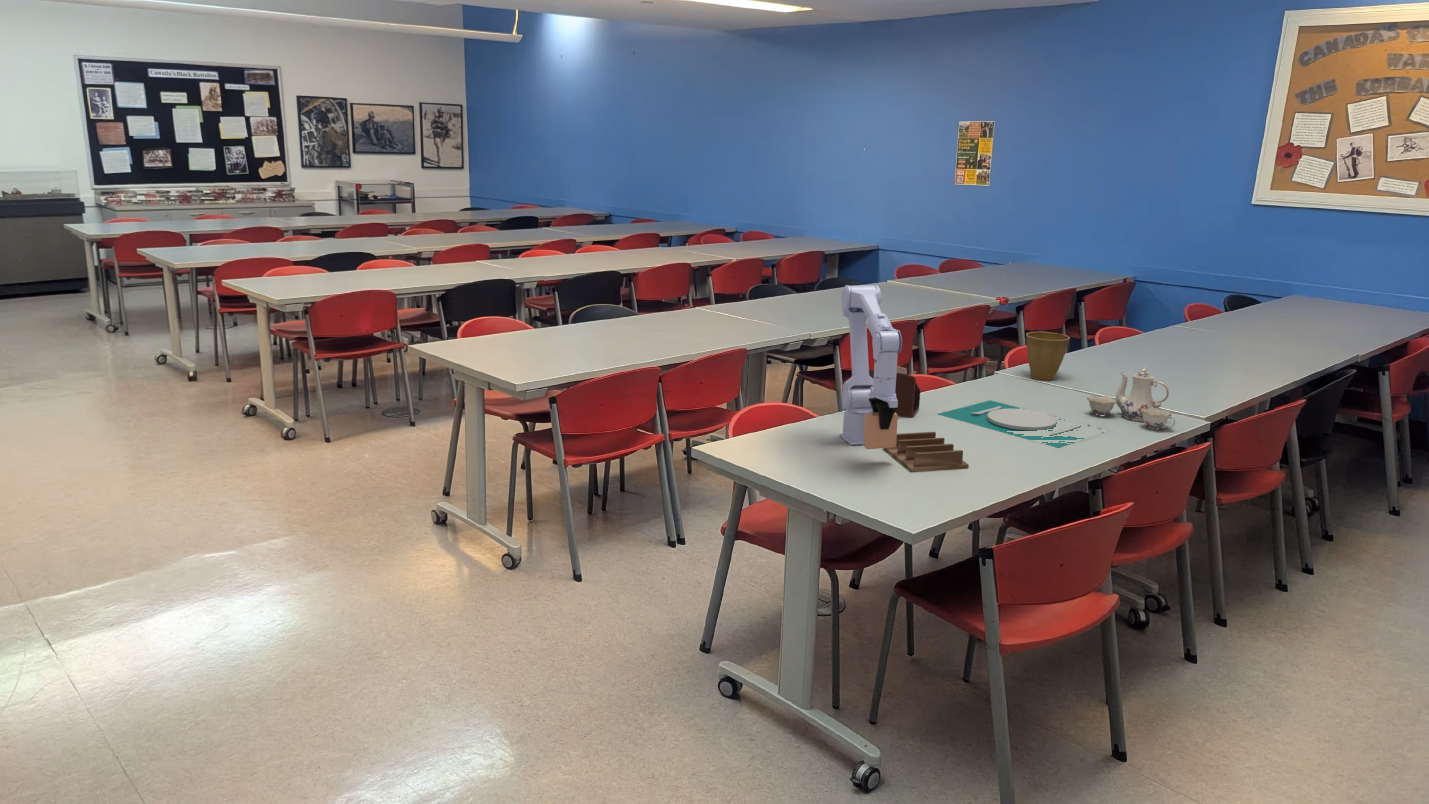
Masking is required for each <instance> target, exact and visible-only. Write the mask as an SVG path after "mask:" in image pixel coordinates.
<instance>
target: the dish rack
mask: <svg viewBox="0 0 1429 804" xmlns="http://www.w3.org/2000/svg"><path fill="white" fill-rule="evenodd" d="M936 435H937V432H936V431H922V432H920V431H919V432H905V433H902V432H901V433H897V441H896V447H893V448H882V449H883V450H884V451H885V452H886V453H887V454H889V455H890V456H891V457H892V458H894V459H895V460H896V461H897V462H898V463H899V464H900V465H902V466H903V467H904V468H905V469H906V470H908V471H909V472H911V473H914V472H917V473H918V472H929V471H931V472H933V471H944V470H960V469H961V470H962V469H969V468H970V467H969V466H970V465H969V464H968V463H967V462H966V461H964V460H963V459H964V458H963V456H964V455H963V454H964V450H962V449H958V450H954V445H955V444H953V443H945V441H946V440H945V438H944V437H936Z"/></svg>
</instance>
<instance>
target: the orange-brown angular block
mask: <svg viewBox="0 0 1429 804" xmlns="http://www.w3.org/2000/svg"><path fill="white" fill-rule="evenodd" d="M898 417H899V416H898V414H896V413H894V415H893V417H892V420H891V423H890V427H889V429H884V430H881V429H880V424H879V413H878V412H876V413H864V441H863V444H862V445H863V446H862V447H864V449H866V450H876V449H877V450H878V449H879V450H881V449H883V448H893V447H896V441H897V434H898V433H897V432H898Z"/></svg>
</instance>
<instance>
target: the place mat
mask: <svg viewBox="0 0 1429 804" xmlns="http://www.w3.org/2000/svg"><path fill="white" fill-rule="evenodd" d="M1020 408H1021V407H1018V406H1014V405H1010V404H1006V403H1002V402H999V401H994V400H987V401H983V402H979V403H975V404H970V405H967V406H962V407H959V408H955V409H951V410H947V411H943V412H939V413H937V415H939V416H943V417H946V418H950V419H953V420H958V421H960V422H964V423H967V424H970V425H974V426H977V427H982V428H985V429H989V430H993V431H996V432H999V433H1003V434H1007V435H1009V436H1013V435H1014V436H1015V437H1018V438H1020V439H1021V438H1022V439H1024V440H1028V441H1031V440H1077V439H1084V438H1076V437H1071V436H1068V437H1063V436H1054V437H1043V436H1022V435H1024V434H1014V433H1013V432H1007V431H1037V430H1047V429H1053V428H1054V427H1056V424H1057V420H1056V419H1055V417H1056V416H1055V417H1053V416H1054V415H1050V414H1048V413H1045V412H1042V411H1037V410H1031V409H1027V410H1025V409H1026V408H1023V409H1020ZM1059 420H1061V419H1059ZM1064 421H1065V420H1064ZM1080 427H1081V425H1075V426H1071V427H1068V428H1064V429H1060V430H1058V431H1055V432H1053V433H1051V434H1049V436H1053V435H1057V434H1061V433H1064V432H1068V431H1073V430H1074V429H1077V428H1080ZM1048 431H1053V430H1048ZM1077 431H1078V430H1077ZM1041 437H1043V438H1041ZM1084 440H1085V439H1084ZM1060 442H1065V441H1059V443H1052V442H1051V443H1048V442H1042V443H1041V444H1043V443H1046V444H1045V445H1046V446H1049V447H1053V448H1058V449H1060V448H1063V447H1065V446H1069V445H1070V444H1067V443H1072V444H1074V443H1075V444H1076V442H1067V443H1060ZM1043 445H1044V444H1043Z"/></svg>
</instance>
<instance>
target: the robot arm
mask: <svg viewBox="0 0 1429 804" xmlns="http://www.w3.org/2000/svg"><path fill="white" fill-rule="evenodd" d="M881 291H882V290H881V288H880V287H879V285H877V284H873V285H849V284H848V285H847V284H846V285H845V286H844V287H843V288H842V293H841V309H842V315H843V316H844V317H845V318H847V320H848V326H849V340H850V341H849V343H850V362H851V377H850V378H848V379H846V380H845V381H844V382H843V385H842V392H841V393H842V394H841V404H842V407H843V408H844V409H845V411H844V414H843V423H842V425H843V427H842V433H839V436H840V437H841V438H842V439H843V440H844V441H845V442H846V443H848V444H849V445H850V446H853V445H854V446H856V445H859V446H860V445H863V441H864V413H876V412H878V413H879V424H880V429H881V430H884V429H889V427H890V423H891V420H892V417H893V415H894V413H895V411H896V410H897V408H898V400H897V399H896V393H895V388H896V372H897V370H898V369H897V368H898V353H899V354H900V352H901V351H902V347H903V338H902V334H901V330H898V329H896V328H894V327H893V326H892V324H891V321H890V319H889V317H888V316H887V314H886V313H883V312H882V311H881V307H880V304H881V301H882V292H881ZM867 328H868V330H869V332H870V335H871V337H872V340H871V341H872V354H873V355H872V357H873V359H874V364H873V365H874V366H873V367H874V369H873V370H874V379H873V378H871V377H870V376H869V370H870V367H869V365H870V364H869V351H868V349H869V348H868V347H869V346H868V331H867ZM897 373H898V372H897ZM864 386H866V387H869V388H853V387H864Z"/></svg>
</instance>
